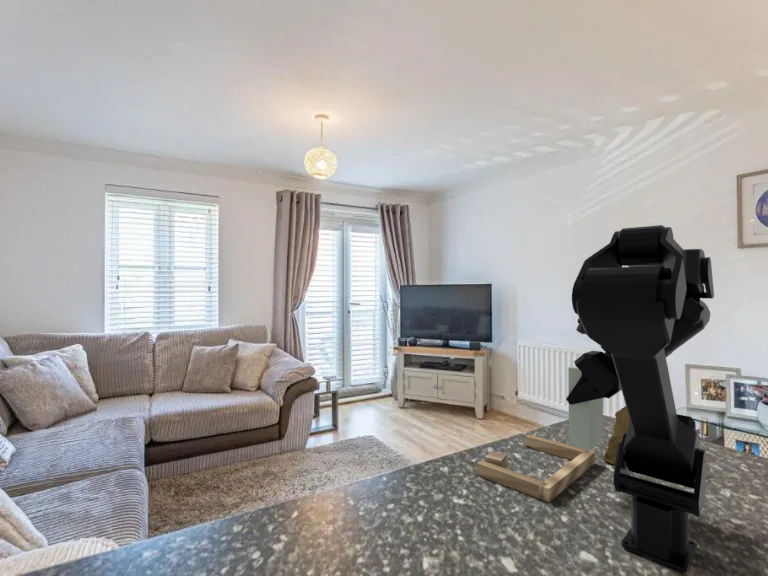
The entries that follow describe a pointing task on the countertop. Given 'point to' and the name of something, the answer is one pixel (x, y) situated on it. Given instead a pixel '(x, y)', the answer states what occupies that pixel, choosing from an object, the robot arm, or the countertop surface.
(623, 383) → the robot arm
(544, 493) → the wooden u-shaped frame
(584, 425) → the pale green rectangular pillar
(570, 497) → the countertop surface
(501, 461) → the offcut stack
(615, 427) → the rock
